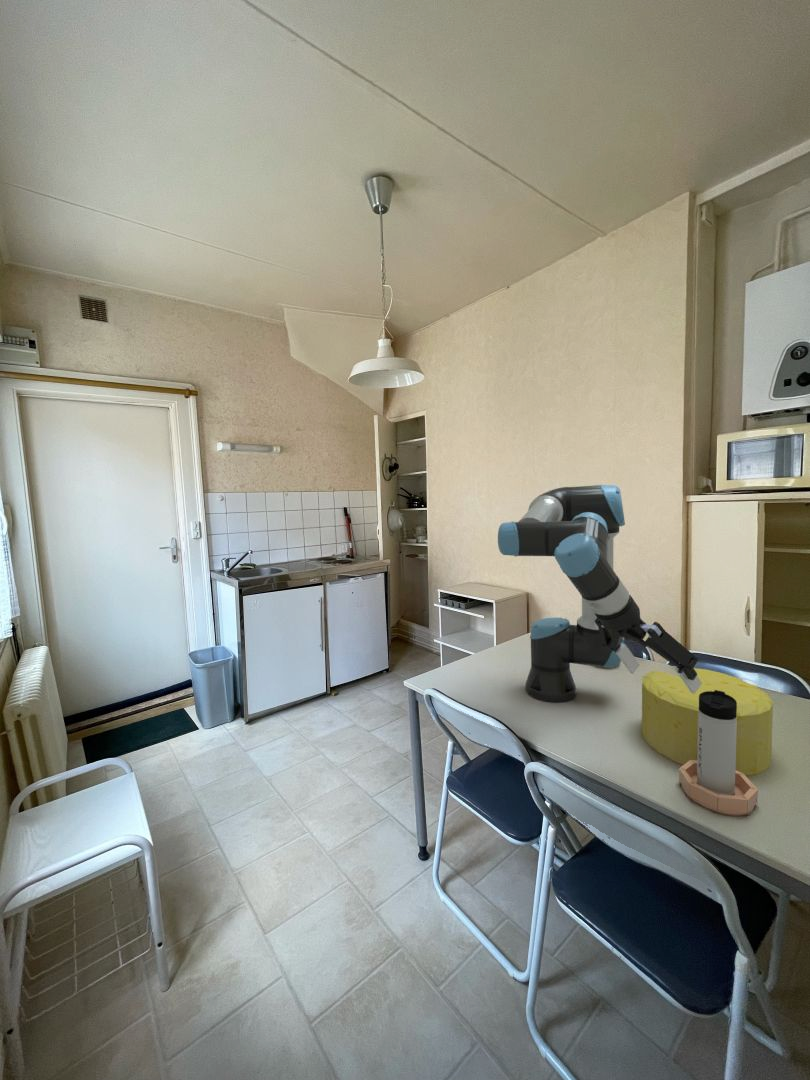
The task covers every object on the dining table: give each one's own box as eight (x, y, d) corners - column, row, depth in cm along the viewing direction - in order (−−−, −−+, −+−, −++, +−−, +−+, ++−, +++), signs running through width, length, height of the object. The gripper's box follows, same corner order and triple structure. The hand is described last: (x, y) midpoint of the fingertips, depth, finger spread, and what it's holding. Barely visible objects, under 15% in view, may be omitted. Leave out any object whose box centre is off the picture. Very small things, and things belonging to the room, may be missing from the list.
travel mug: (736, 788, 88) (739, 694, 86) (732, 805, 83) (735, 706, 81) (699, 776, 92) (701, 686, 90) (694, 792, 87) (696, 697, 85)
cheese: (651, 707, 124) (652, 657, 123) (770, 735, 107) (771, 678, 106) (631, 749, 104) (631, 690, 103) (772, 792, 87) (774, 722, 86)
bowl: (697, 812, 83) (697, 795, 82) (672, 773, 94) (672, 758, 94) (768, 819, 80) (769, 801, 80) (733, 778, 92) (734, 763, 92)
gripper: (555, 608, 94) (604, 674, 99) (660, 628, 70) (717, 713, 75) (575, 585, 96) (623, 650, 101) (683, 597, 73) (738, 681, 77)
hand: (663, 677), depth 88 cm, fingers open, 13 cm apart
